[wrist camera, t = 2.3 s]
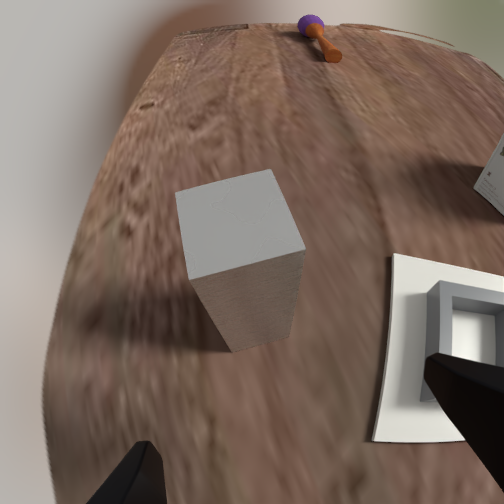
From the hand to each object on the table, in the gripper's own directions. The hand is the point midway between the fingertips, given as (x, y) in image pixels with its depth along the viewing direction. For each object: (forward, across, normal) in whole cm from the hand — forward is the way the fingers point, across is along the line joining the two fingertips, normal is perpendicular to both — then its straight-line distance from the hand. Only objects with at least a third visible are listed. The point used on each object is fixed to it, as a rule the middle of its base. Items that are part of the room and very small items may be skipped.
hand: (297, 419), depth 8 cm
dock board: (+9, -17, +11) cm, 22 cm away
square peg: (+15, 0, +4) cm, 16 cm away
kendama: (+51, -28, -31) cm, 66 cm away
